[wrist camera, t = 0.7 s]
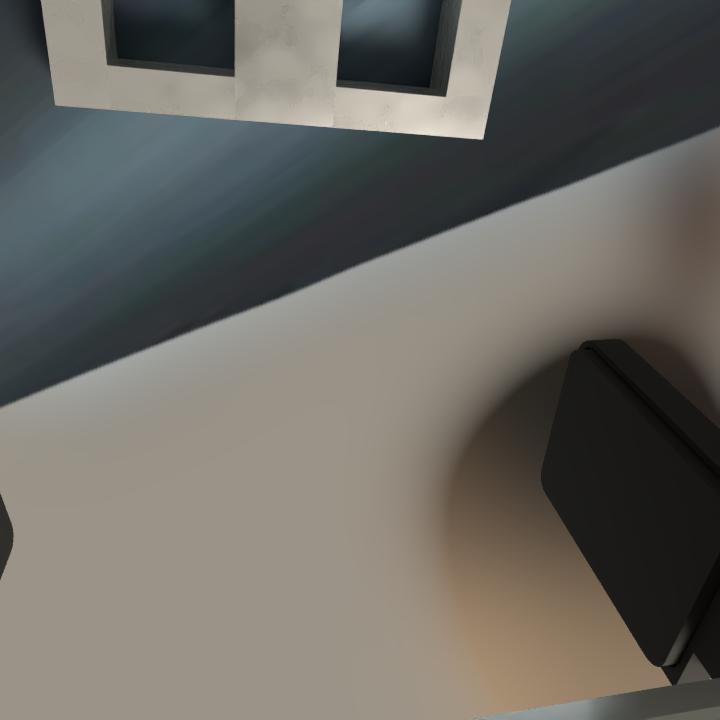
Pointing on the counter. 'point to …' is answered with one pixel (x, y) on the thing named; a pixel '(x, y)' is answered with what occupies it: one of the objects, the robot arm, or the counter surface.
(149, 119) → the counter surface
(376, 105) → the board with square holes
